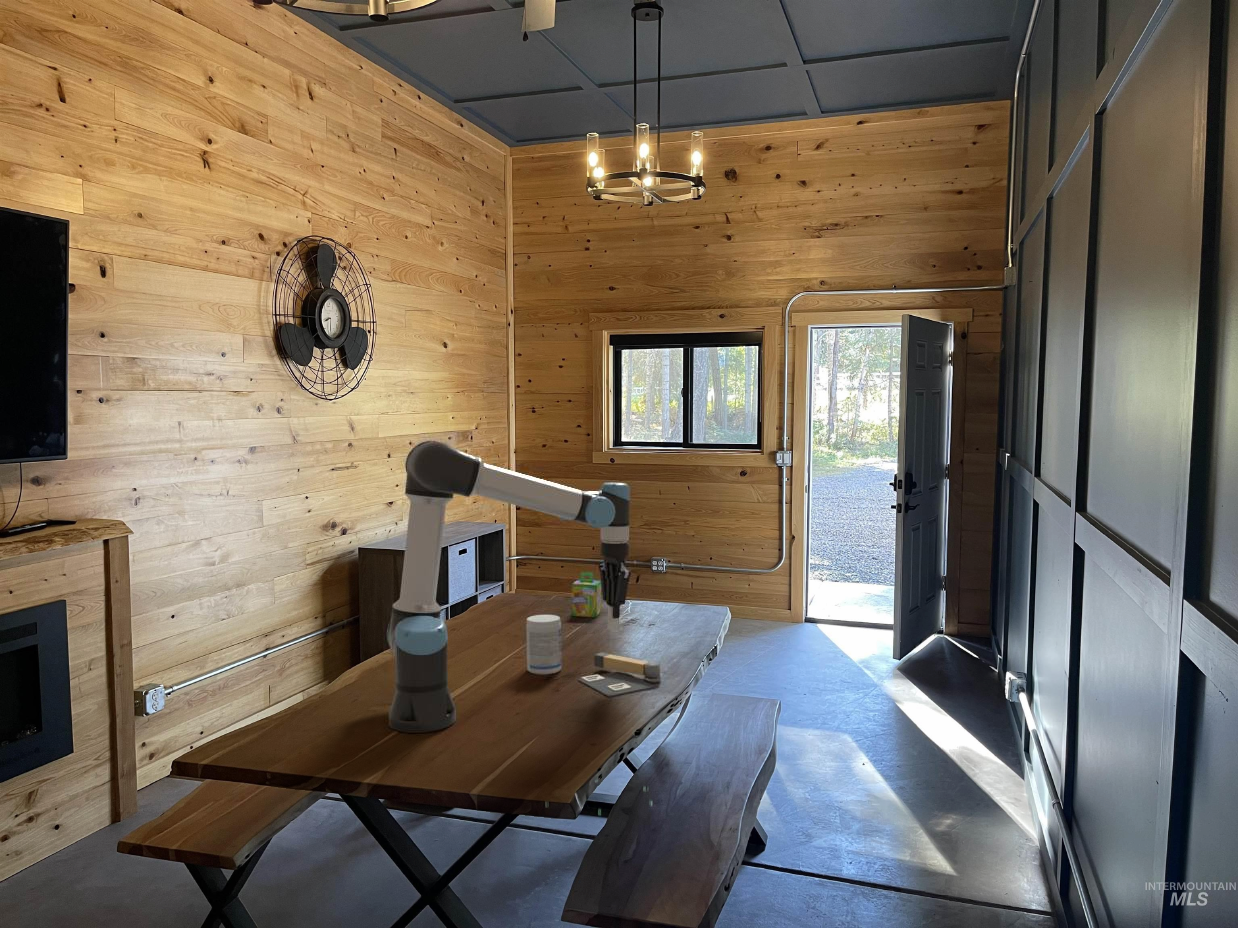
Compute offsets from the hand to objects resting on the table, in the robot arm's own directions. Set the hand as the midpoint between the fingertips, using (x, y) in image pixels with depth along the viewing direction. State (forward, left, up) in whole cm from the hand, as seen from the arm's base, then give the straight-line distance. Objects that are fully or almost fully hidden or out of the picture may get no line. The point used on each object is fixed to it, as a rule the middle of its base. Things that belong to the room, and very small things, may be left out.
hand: (613, 629), depth 231 cm
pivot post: (+8, -6, -14) cm, 17 cm away
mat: (-1, -3, -14) cm, 14 cm away
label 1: (-5, +3, -14) cm, 15 cm away
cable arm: (+5, +1, -12) cm, 14 cm away
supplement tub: (-12, +18, -14) cm, 26 cm away
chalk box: (+31, +70, -14) cm, 78 cm away
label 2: (-3, -7, -14) cm, 16 cm away
